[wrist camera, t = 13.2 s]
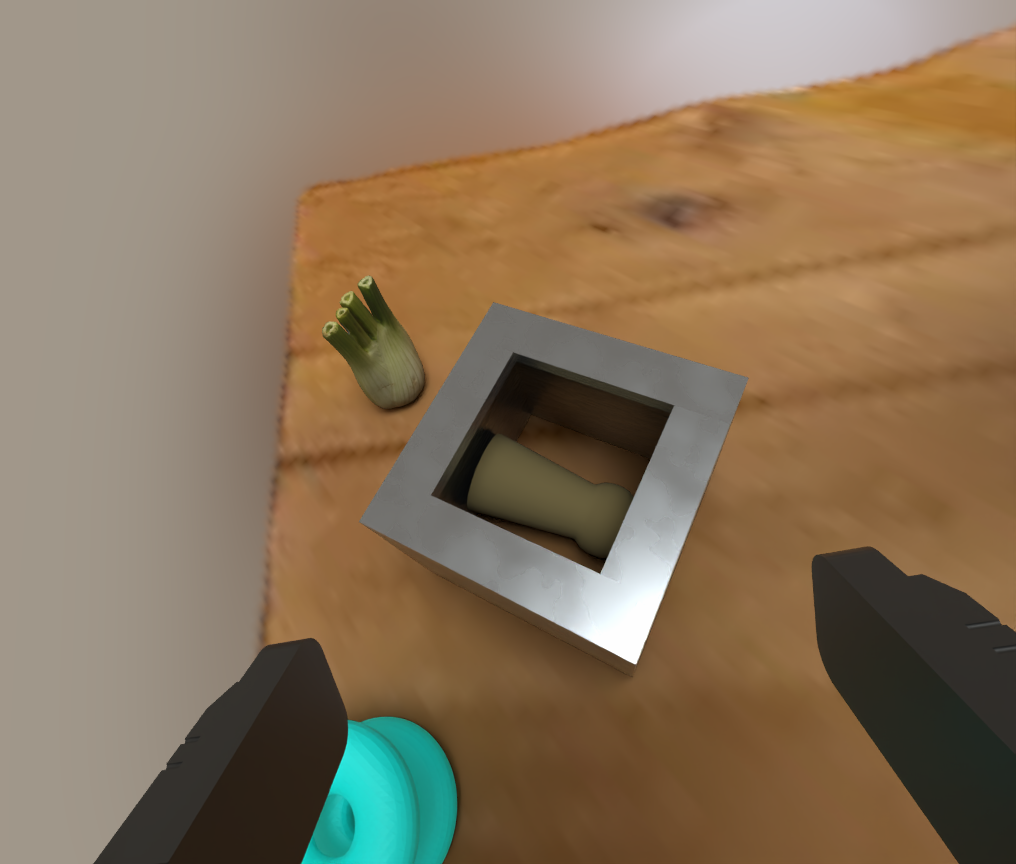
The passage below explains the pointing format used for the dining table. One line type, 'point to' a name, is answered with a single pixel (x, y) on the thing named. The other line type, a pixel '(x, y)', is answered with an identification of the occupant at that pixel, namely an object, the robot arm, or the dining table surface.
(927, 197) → the dining table surface
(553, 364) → the drop box
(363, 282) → the fennel bulb
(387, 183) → the dining table surface
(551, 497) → the cork
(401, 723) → the donuts
